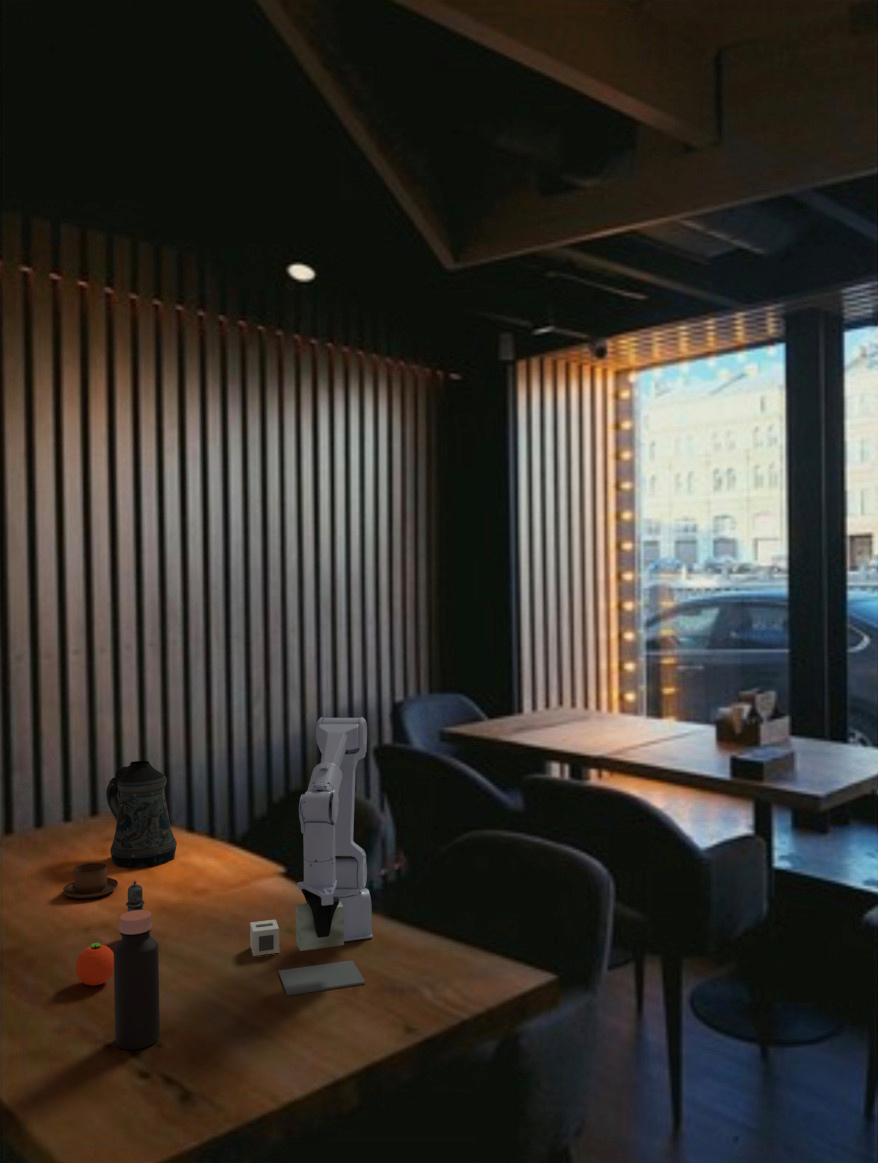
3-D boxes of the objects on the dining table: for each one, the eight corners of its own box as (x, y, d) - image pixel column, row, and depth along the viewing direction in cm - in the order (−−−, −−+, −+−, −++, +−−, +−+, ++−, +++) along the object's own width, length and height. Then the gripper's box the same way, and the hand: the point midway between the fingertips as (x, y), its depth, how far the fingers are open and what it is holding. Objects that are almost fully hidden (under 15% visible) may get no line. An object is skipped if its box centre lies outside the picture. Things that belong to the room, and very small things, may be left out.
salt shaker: (141, 946, 190) (140, 886, 190) (114, 944, 191) (113, 884, 191) (156, 934, 196) (155, 876, 196) (130, 933, 197) (129, 875, 197)
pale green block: (339, 936, 177) (338, 899, 177) (343, 944, 173) (343, 906, 173) (296, 942, 174) (295, 904, 174) (300, 950, 171) (299, 912, 171)
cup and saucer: (51, 899, 219) (51, 872, 219) (88, 883, 230) (88, 857, 230) (92, 905, 214) (92, 878, 214) (129, 888, 225) (128, 862, 225)
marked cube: (275, 944, 190) (275, 918, 190) (279, 954, 185) (279, 928, 185) (250, 947, 189) (250, 921, 189) (253, 957, 184) (253, 931, 184)
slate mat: (352, 962, 181) (352, 960, 181) (365, 983, 171) (365, 981, 171) (278, 972, 177) (278, 970, 177) (287, 995, 167) (287, 993, 167)
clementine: (74, 977, 176) (74, 939, 176) (114, 970, 178) (113, 933, 178) (76, 995, 168) (75, 955, 168) (118, 988, 171) (117, 948, 171)
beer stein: (166, 868, 240) (164, 769, 239) (89, 869, 240) (87, 770, 240) (184, 849, 256) (183, 756, 256) (112, 849, 256) (110, 757, 256)
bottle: (135, 1055, 147) (132, 926, 147) (105, 1044, 151) (103, 918, 150) (169, 1036, 153) (167, 912, 153) (140, 1026, 156) (138, 904, 156)
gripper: (291, 848, 179) (292, 920, 179) (304, 871, 166) (305, 949, 166) (328, 844, 181) (329, 916, 182) (344, 867, 168) (345, 944, 168)
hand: (320, 931), depth 174 cm, fingers closed on pale green block, 4 cm apart
